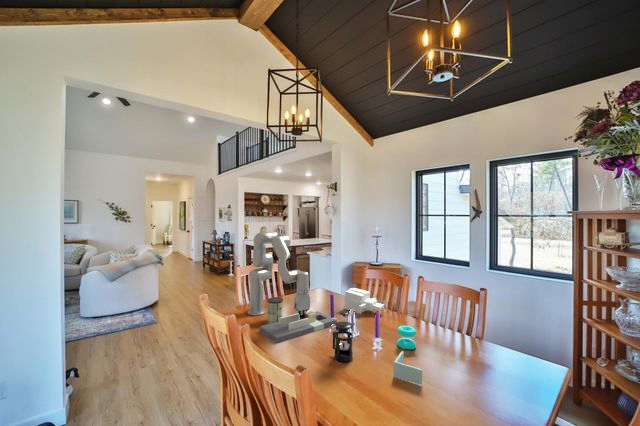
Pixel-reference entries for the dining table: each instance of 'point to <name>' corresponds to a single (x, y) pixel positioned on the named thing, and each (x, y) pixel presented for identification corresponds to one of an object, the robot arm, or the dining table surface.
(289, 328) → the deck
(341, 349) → the french press
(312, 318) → the birch block
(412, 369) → the l-shaped corner panel
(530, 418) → the dining table surface
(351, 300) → the blocky voxel creature
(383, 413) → the dining table surface
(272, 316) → the coffee can
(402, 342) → the donuts
